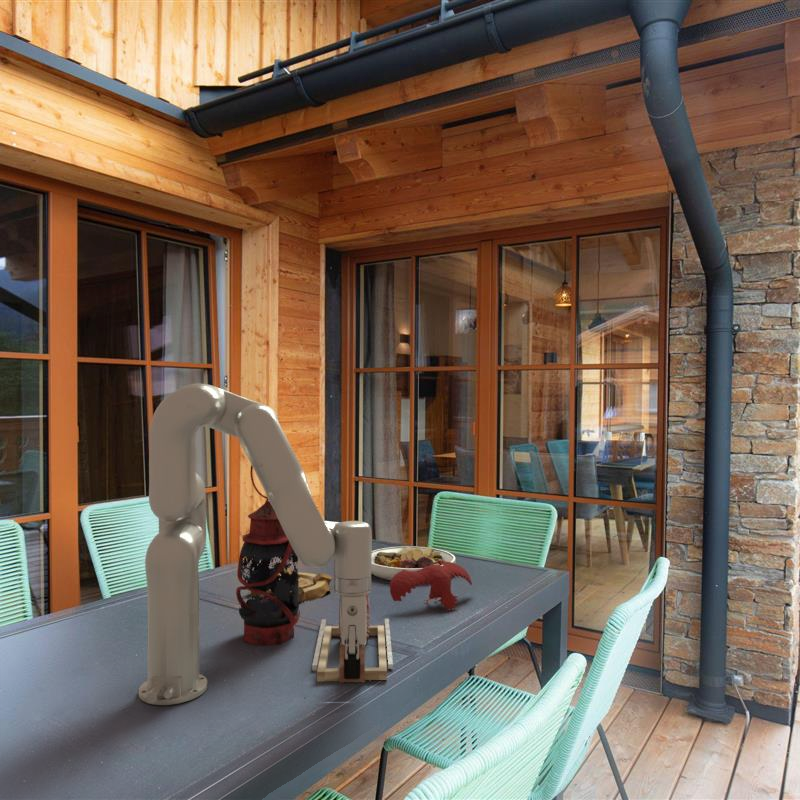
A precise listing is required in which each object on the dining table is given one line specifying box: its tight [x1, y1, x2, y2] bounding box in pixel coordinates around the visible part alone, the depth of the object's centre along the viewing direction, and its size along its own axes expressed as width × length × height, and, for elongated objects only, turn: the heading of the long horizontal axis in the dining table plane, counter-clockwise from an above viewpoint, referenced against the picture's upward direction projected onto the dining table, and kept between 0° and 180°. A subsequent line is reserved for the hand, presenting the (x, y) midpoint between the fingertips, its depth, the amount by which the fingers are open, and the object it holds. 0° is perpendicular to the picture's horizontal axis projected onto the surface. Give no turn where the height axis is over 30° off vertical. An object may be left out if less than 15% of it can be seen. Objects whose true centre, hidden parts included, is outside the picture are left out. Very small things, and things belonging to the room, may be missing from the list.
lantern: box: [235, 464, 301, 647], centre depth 155 cm, size 16×15×45 cm
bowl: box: [371, 545, 456, 581], centre depth 215 cm, size 30×30×8 cm
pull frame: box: [316, 624, 388, 684], centre depth 144 cm, size 27×14×7 cm, turn 3°
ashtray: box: [250, 567, 333, 603], centre depth 192 cm, size 24×24×5 cm
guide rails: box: [311, 618, 394, 672], centre depth 150 cm, size 28×17×1 cm, turn 3°
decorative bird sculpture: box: [389, 562, 473, 612], centre depth 180 cm, size 28×9×15 cm
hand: (352, 673), depth 132 cm, fingers closed on pull frame, 3 cm apart
